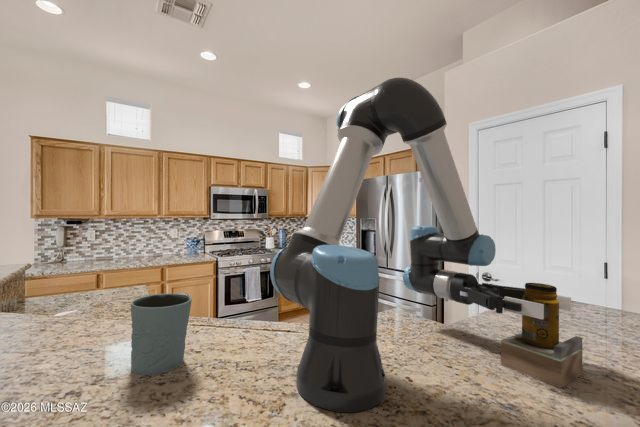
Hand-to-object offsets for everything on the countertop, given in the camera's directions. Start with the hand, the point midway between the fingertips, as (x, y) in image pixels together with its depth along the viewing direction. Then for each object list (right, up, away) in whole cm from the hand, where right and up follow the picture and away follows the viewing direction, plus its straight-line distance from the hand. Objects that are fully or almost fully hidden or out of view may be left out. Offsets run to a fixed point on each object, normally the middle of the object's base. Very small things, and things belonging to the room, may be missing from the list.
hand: (557, 307), depth 57 cm
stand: (-2, -13, +2) cm, 13 cm away
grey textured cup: (-77, -10, -3) cm, 78 cm away
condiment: (-3, -8, +2) cm, 9 cm away
